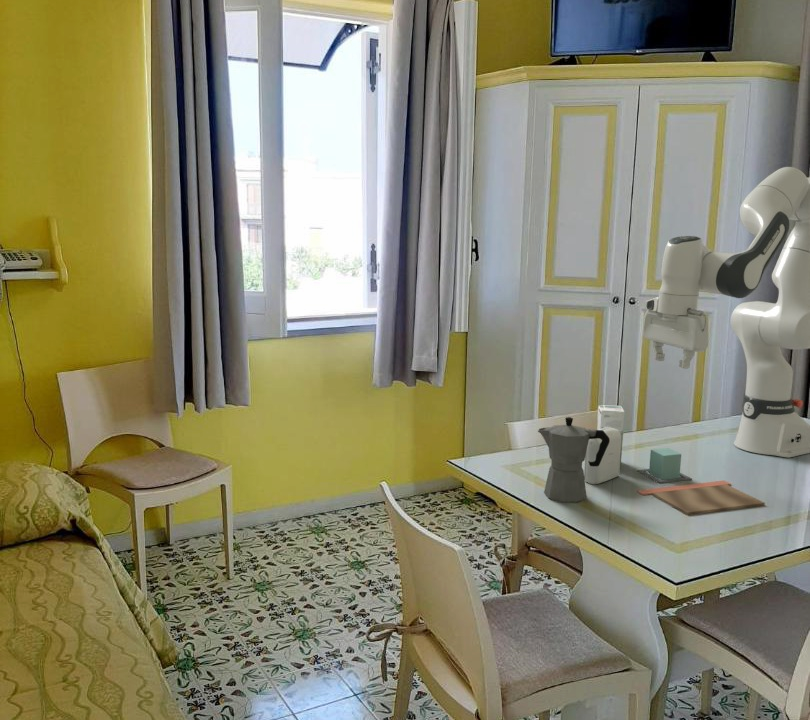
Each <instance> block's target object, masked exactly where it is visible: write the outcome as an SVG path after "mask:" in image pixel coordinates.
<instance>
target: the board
mask: <svg viewBox="0 0 810 720" xmlns="http://www.w3.org/2000/svg"><path fill="white" fill-rule="evenodd" d="M652 497H655V498H656V499H658V500H659V501H662V502H663V503H665V504H667V505H668V506H670V507H672V508H673V509H675V510H677V511H679V512H681V513H682V514H684V515H686V516H691V515H700V514H708V513H714V512H715V513H716V512H717V513H718V512H724V511H731V510H740V509H747V508H748V509H749V508H755V507H761V506H765V504H766V502H764V501H762V500H760V499H758V498H756V497H753V496H751V495H749V494H747V493H745V492H743V491H741V490H739V489H737V488H735V487H733V486H731V485H718V486H710V487H701V488H693V489H684V490H675V491H667V492H658V493H653V494H652Z"/></svg>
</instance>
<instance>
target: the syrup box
mask: <svg viewBox="0 0 810 720" xmlns="http://www.w3.org/2000/svg"><path fill="white" fill-rule="evenodd" d="M625 413H626V412H625V410H624V408H623V407H622V406H621V405H610V404H609V405H604V404H599V405H598V407H597V420H596V430H599V429H601V428H606V427H610V428H614V429H617V430H619V432H620V433H621V455H620V467H622V466H621V465H622V454H623V451H622V450H623V440H624V429H625V427H624V426H625V417H626V415H625Z"/></svg>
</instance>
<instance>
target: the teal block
mask: <svg viewBox="0 0 810 720" xmlns="http://www.w3.org/2000/svg"><path fill="white" fill-rule="evenodd" d="M649 456H650V457H649V466H648V467H649V468H648V469H649V472H648V474H649V473H650V475H651V474H652V476H653V475H654V477H655V476H656V477H655V478H657V477H658V478H657V479H659V478H660V479H659V480H668V479H677V478H681V476H680V473H681V464H682V463H681V462H682V453H680V452H678V451H675V450H673V449H672V448H669V447H664V448H656V449H655V448H654V449H650V455H649Z"/></svg>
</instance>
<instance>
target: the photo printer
mask: <svg viewBox="0 0 810 720" xmlns="http://www.w3.org/2000/svg"><path fill="white" fill-rule="evenodd" d="M599 430H602V431H604V432H605V433H606V435H607V436H608V437H609V439H610V442H609V445H608V447H607V449H606V451H605V453H604V455H603V458H602V460H601V462H600V464H599V466H590V464H589V462H594V461H595V460H596V454H597V452H598V450H599V446H600V443H601V442H602V440H601V439H600V438H597V439H589V442H588V446H587V451H586V455H585V460H584V470H583V471H584V479H585V483H587V482H588V483H587V484H589V483H591V484H590V485H598V484H601V483H604V482H607V481H609V480H612V479H615V478H616V477H619V475H620V469H621V468H620V467H621V466H620V455H621V433H620V432H619V430H617V429H614V428H610V427H606V428H601V429H599ZM621 456H622V455H621Z"/></svg>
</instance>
